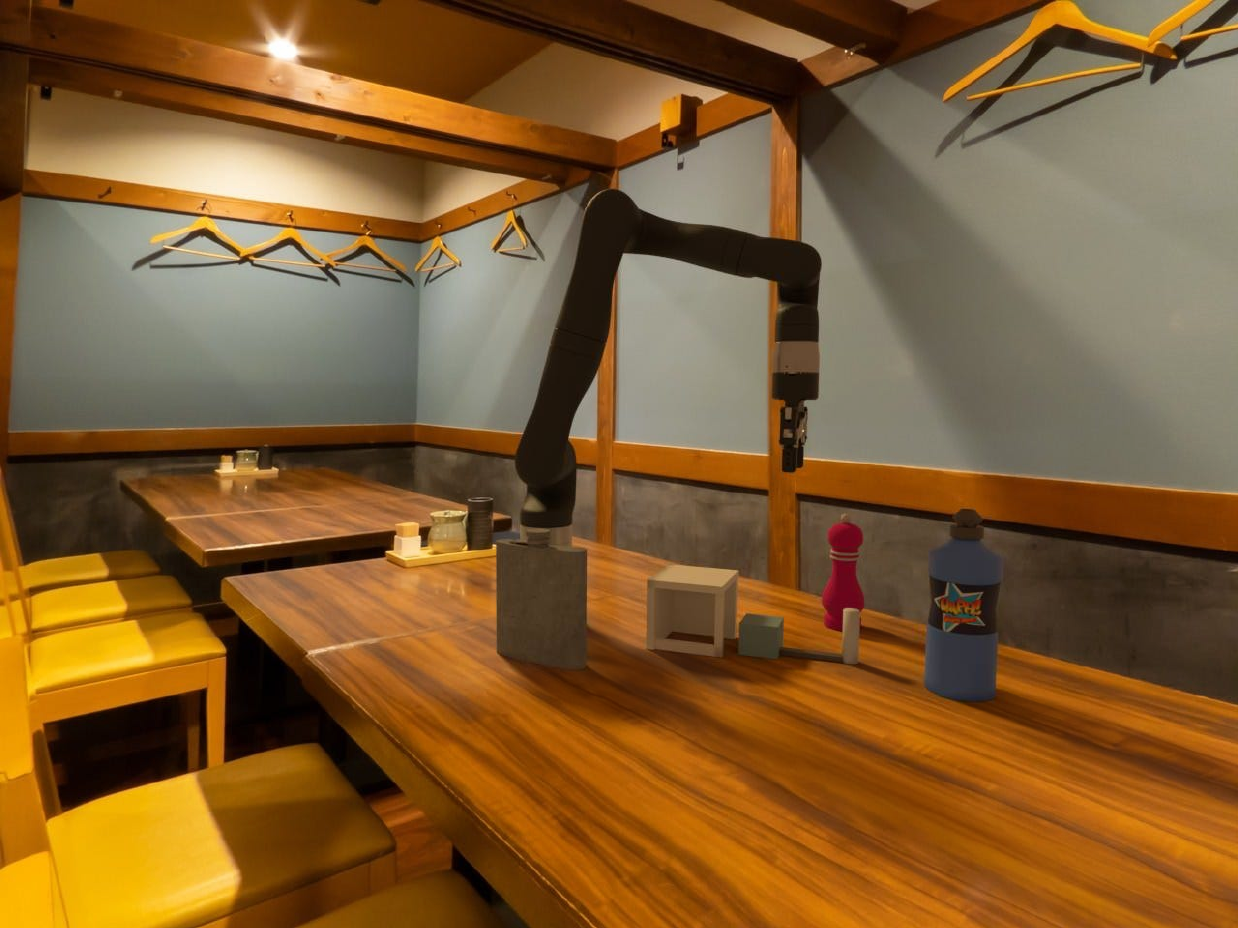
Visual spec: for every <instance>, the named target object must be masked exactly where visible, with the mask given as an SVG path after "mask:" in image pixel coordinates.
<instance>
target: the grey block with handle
mask: <svg viewBox="0 0 1238 928" xmlns="http://www.w3.org/2000/svg"><path fill="white" fill-rule="evenodd" d="M860 617H861V612H860V610H858V609H854V608H845V609H843V631H842V639H841V640H842V642H841V653H835V652H828V651H820V650H812V649H811V650H810V649H801V648H794V647H786V646H785V647H784V627H785V626H784V625H785V620H784V618H785V617H784V616H777V615H776V616H775V615H767V614H756V613H749V612H747V613H746V614H744V616H743V617H742V619H740V621H739V623H738V649H737V650H738V651H737V652H738V653H737V654H738V655H739V656H746V657H747V656H749V657H756V658H765V659H769V660H771V659H772V660H773V659H774V660H778V658H779V657H780V656H786V657H793V658H800V659H801V658H802V659H809V660H810V659H811V660H818V661H827V662H835V663H842V664H845V665H857V664H858V663H859V650H860V645H859V643H860V629H859V624H860Z"/></svg>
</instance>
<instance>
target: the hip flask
mask: <svg viewBox="0 0 1238 928" xmlns="http://www.w3.org/2000/svg"><path fill="white" fill-rule="evenodd" d="M526 536H528V537H529V539H527V540H520V539H519V538H517V539H511V538H510V539H509V538H507V539H498V540H496V542H495V548H496V549H495V552H496V553H495V554H496V555H495V558H496V560H495V561H496V562H495V564H496V565H495V568H496V569H495V570H496V571H495V572H496V575H495V576H496V577H495V578H496V580H495V581H496V583H495V584H496V585H495V586H496V587H495V588H496V592H495V593H496V596H495V597H496V601H495V602H496V654H498V655H501V656H503V657H507V658H510V659H515V660H518V661H522V662H526V663H530V664H536V665H541V666H546V667H550V668H557V669H564V670H575V671H579V670H583V669H585V668H587V663H588V662H587V661H588V660H587V657H588V655H587V653H588V652H587V649H588V648H587V645H588V641H587V640H588V636H587V635H588V628H587V627H588V549H587V548H586V547H577V546H576V547H575V546H572V547H565V546H555V545H548V543H549V540H548V539H549V538H547V537H548V536H550V530H549V529H541V528H536V529H528V530H526Z"/></svg>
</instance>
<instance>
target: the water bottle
mask: <svg viewBox="0 0 1238 928" xmlns="http://www.w3.org/2000/svg"><path fill="white" fill-rule="evenodd" d="M951 518H952V519H953V521H954V522H955V523H952V524H950V525H949V537H951V538H950V539H949V540H948V541H947V542H946V543H943V544H939V545H937V546H936V547H933V548H930V549H929V550H928V560H927V562H928V563H927V574H928V578H929V591H930V608H929V612H928V616H927V617H928V618H927V622H926V630H925V633H926V636H925V651H924V652H925V653H924V654H925V655H924V676H923V677H924V679H923V685H924V688H925V689H926V690H928V691H929V692H930V693H932V694H934V695H937V696H939V697H941V698H944V699H945V698H946V699H949V700H954V701H958V702H959V701H960V702H970V703H972V702H973V703H977V702H978V703H980V702H981V703H982V702H987V701H991V700H993V699H994V698H995V697H996V691H997V690H996V689H997V687H996V686H997V673H998V672H997V669H998V655H999V654H998V652H999V650H998V647H999V627H998V616H997V607H998V601H999V596H1000V595H999V594H1000V590H1001V585H1002V582H1003V581H1004V580H1003V578H1004V577H1003V576H1004V561H1005V559H1004V558H1005V556H1004V555H1003V554H1001V553H1000V552H997V551H996V550H994V549H992V548H990V547H989V546H987V545H986V544H985V543H984V542H983V541H982V540H983V539H984V537H985V536H984V535H985V527H984V526H983V525H979V524H980V523H982V521H983V520H984V518H983V517H982V516H981V515H980V514H979V512H977V510H976V509H974V508H973V509H972V508H960V509H959V510H958V511H957V512H955V513H954V514H953V516H951Z"/></svg>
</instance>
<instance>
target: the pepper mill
mask: <svg viewBox="0 0 1238 928" xmlns="http://www.w3.org/2000/svg"><path fill="white" fill-rule="evenodd" d="M840 520H841V521H840V522H837V523H834V524H833V525H831V527H829V529H828V532H827V536H826V537H827V542H828V544H829V545H830V547H831V549H830V550H829V552H830V554H829V557H830V558H831V559H832V567H831V569H832V570H831V575H830V577H829V580H828V582H827V584H826V586H825V588H824V590H823V592H822V597H821V604H822V607H824V609H825V611H826V613H825V614H823V625H824V626H825V627H827V629H831V630H834V631H835V630H836V631H841V632H843V609H845V608H854V609H858V610H860V613H861V612H862V611H863V609H864V608H865V597H864V593H863V591H862V588H861V586H860V583H859V581H858V576H857V562H858V560H860V553H861V552H860V550H859V548H860V547H861V546H862V545H863V542H864V533H863V531H862V529H861V528H860V527H859V526H858V525H857V524H855V523H852V522H851V521H852V516H851V515H850V514H848V513H843V514H842V515H841V516H840ZM861 625H862V618H861V616H860V624H859V630H860V629H861V627H862V626H861Z"/></svg>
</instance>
